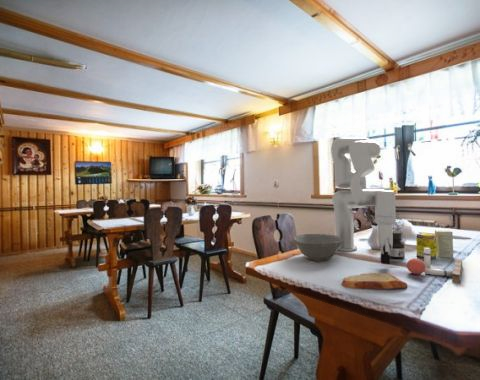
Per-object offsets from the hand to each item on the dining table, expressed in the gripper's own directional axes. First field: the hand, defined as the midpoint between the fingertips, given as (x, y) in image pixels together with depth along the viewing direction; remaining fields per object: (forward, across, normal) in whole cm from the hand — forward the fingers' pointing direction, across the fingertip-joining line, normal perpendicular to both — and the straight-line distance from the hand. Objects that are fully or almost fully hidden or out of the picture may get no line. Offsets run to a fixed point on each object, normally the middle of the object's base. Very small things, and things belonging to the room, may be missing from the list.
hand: (385, 263), depth 113 cm
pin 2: (+1, +4, +13) cm, 14 cm away
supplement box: (+2, -23, +20) cm, 30 cm away
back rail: (+2, 0, +25) cm, 25 cm away
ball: (-1, +5, +10) cm, 11 cm away
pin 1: (+2, -3, +16) cm, 16 cm away
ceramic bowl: (+3, -7, -28) cm, 29 cm away
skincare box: (+2, -27, +28) cm, 39 cm away
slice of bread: (+2, +22, -6) cm, 23 cm away
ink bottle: (+3, -20, +6) cm, 21 cm away
